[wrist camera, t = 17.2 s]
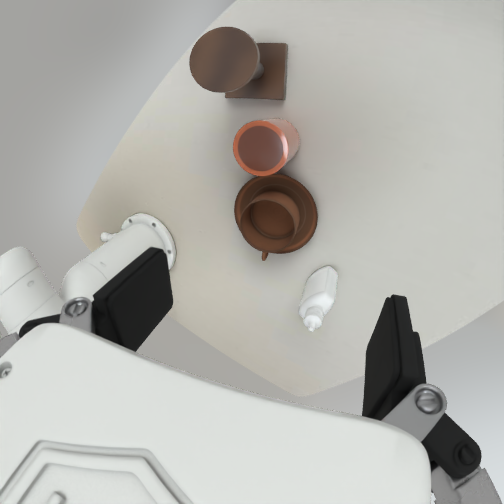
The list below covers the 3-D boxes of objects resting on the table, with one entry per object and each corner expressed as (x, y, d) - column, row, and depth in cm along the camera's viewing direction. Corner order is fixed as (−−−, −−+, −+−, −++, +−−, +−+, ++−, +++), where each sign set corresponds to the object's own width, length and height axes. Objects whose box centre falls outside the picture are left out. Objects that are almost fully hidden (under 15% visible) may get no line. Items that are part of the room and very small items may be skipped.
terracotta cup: (252, 160, 40) (232, 173, 33) (254, 116, 37) (233, 119, 30) (297, 166, 38) (286, 179, 32) (301, 120, 35) (290, 122, 28)
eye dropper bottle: (301, 269, 46) (285, 318, 36) (335, 263, 43) (329, 313, 33) (308, 292, 47) (294, 343, 37) (341, 287, 45) (336, 339, 35)
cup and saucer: (323, 246, 43) (318, 266, 38) (247, 249, 47) (234, 269, 42) (312, 166, 38) (306, 176, 33) (231, 176, 42) (213, 187, 37)
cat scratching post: (228, 98, 37) (185, 97, 26) (230, 45, 33) (187, 28, 23) (285, 100, 35) (260, 96, 25) (287, 45, 31) (263, 21, 21)
